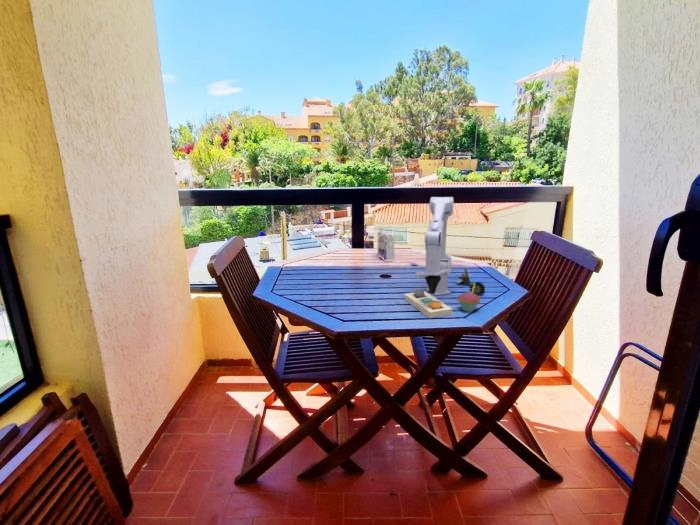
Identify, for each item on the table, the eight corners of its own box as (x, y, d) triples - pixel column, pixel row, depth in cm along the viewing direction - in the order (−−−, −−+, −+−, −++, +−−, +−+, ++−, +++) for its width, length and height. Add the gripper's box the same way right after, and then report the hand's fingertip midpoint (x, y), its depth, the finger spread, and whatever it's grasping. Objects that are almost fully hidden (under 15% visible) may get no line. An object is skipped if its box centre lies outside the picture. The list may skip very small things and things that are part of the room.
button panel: (404, 299, 175) (404, 293, 174) (424, 296, 178) (424, 291, 177) (429, 318, 154) (429, 312, 153) (452, 314, 157) (452, 308, 156)
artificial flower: (467, 299, 176) (461, 278, 175) (457, 289, 198) (452, 270, 197) (486, 294, 175) (481, 273, 174) (475, 284, 197) (470, 265, 196)
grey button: (412, 296, 173) (412, 291, 172) (421, 295, 174) (421, 289, 174) (417, 299, 169) (417, 294, 168) (426, 298, 170) (426, 292, 170)
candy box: (377, 256, 249) (377, 231, 245) (385, 255, 251) (385, 230, 247) (385, 262, 237) (385, 235, 232) (394, 261, 238) (394, 234, 234)
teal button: (419, 304, 167) (419, 298, 166) (428, 303, 168) (429, 297, 168) (424, 308, 163) (424, 302, 162) (434, 306, 164) (434, 300, 164)
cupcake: (474, 305, 166) (476, 278, 162) (482, 313, 157) (484, 284, 154) (454, 306, 165) (456, 279, 162) (461, 314, 157) (463, 285, 154)
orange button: (427, 307, 160) (428, 301, 160) (437, 306, 162) (437, 300, 161) (433, 311, 156) (433, 305, 156) (443, 309, 157) (443, 303, 157)
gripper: (421, 265, 151) (420, 298, 154) (454, 261, 155) (453, 293, 158) (413, 260, 157) (412, 292, 161) (445, 257, 161) (444, 288, 165)
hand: (432, 292), depth 160 cm, fingers closed
